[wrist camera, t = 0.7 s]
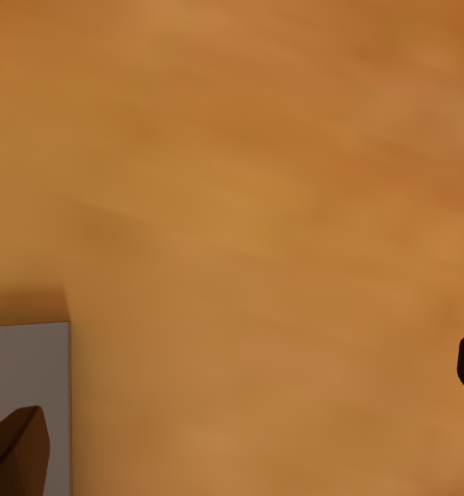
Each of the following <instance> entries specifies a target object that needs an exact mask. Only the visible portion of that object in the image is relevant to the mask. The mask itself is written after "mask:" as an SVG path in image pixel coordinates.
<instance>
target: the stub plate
mask: <svg viewBox="0 0 464 496" xmlns="http://www.w3.org/2000/svg"><path fill="white" fill-rule="evenodd" d="M34 405H39V406H40V407H41V408H42V409H43V412H44V416H45V421H46V425H47V430H48V434H49V439H50V456H49V462H48V468H47V474H46V480H45V486H44V492H43V496H72V410H71V321H68V322H53V323H38V324H23V325H8V326H0V422H1V421H2V420H3V419H4V418H6V417H7V416H8V415H9V414H11V413H12V412H13V411H14V410H16V409H18V408H21V407H28V406H34Z"/></svg>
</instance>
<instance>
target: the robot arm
mask: <svg viewBox="0 0 464 496" xmlns="http://www.w3.org/2000/svg"><path fill="white" fill-rule="evenodd" d="M457 374H458V377H459V379H460V381H461V382H462V383H463V385H464V338H463V339H462V340H461V341H460V344H459V354H458V363H457ZM49 456H50V439H49V434H48V430H47V425H46V421H45V416H44V412H43V409H42V408H41V407H40V406H39V405H34V406H28V407H21V408H18V409H16V410H14V411H13V412H12V413H11V414H9V415H8V416H7V417H6V418H4V419H3V420H2V421H1V422H0V496H43V492H44V486H45V480H46V474H47V468H48V462H49Z"/></svg>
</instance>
